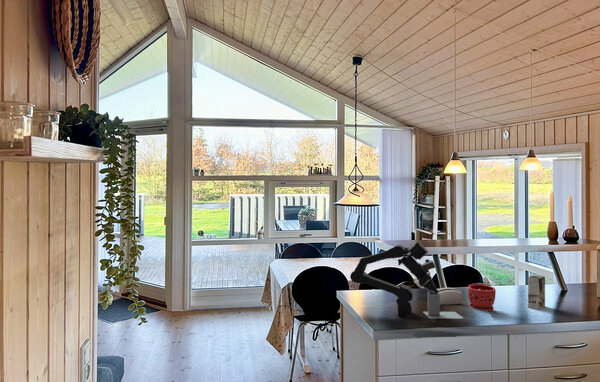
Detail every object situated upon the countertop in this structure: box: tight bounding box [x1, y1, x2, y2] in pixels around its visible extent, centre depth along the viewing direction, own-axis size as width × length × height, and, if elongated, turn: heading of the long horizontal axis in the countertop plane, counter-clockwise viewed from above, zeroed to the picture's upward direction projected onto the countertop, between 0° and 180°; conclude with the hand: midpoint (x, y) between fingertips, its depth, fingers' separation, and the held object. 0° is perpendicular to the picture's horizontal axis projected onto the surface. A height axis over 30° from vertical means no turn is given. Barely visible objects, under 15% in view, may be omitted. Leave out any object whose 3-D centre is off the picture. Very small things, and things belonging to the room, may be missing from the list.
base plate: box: [423, 311, 464, 319], centre depth 202 cm, size 16×11×4 cm
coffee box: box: [527, 275, 546, 311], centre depth 223 cm, size 9×6×16 cm
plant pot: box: [467, 284, 497, 313], centre depth 217 cm, size 13×13×12 cm
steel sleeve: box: [427, 291, 441, 317], centre depth 202 cm, size 5×5×10 cm
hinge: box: [436, 287, 463, 305], centre depth 229 cm, size 17×5×10 cm, turn 101°
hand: (436, 289), depth 202 cm, fingers open, 9 cm apart
